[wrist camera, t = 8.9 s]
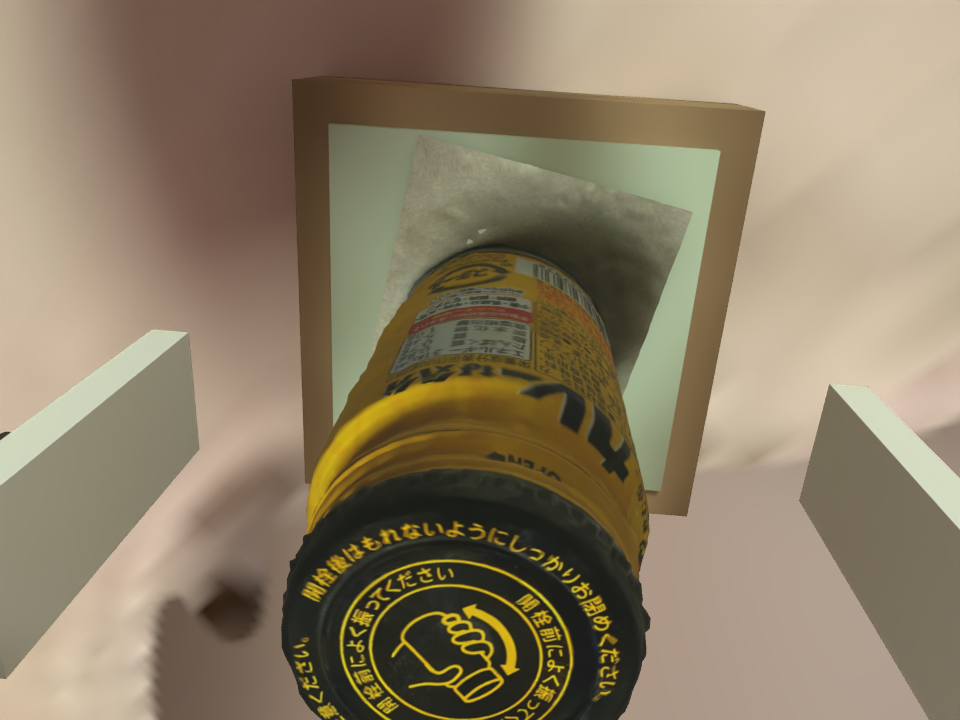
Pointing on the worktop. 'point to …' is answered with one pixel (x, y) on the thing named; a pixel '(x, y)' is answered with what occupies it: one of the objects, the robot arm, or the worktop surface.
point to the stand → (510, 135)
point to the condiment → (488, 459)
